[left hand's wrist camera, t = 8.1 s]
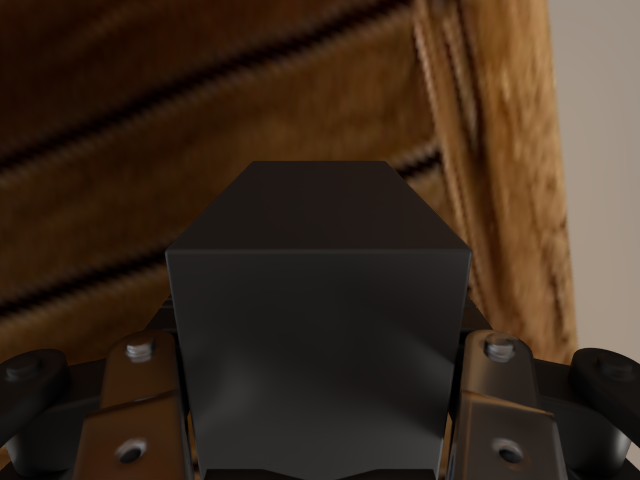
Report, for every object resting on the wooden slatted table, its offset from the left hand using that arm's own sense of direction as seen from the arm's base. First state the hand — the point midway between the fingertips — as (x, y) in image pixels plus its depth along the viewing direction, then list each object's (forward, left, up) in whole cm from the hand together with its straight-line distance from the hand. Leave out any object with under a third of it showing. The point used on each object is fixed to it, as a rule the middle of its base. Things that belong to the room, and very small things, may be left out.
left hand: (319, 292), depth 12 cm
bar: (-8, +2, -5) cm, 10 cm away
